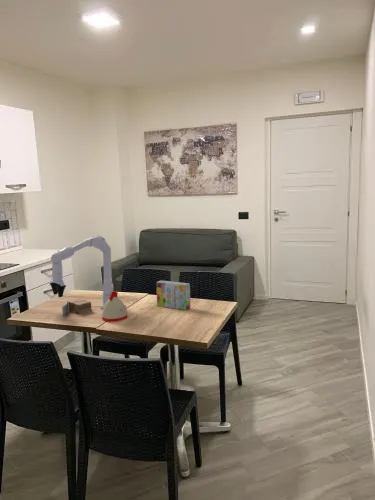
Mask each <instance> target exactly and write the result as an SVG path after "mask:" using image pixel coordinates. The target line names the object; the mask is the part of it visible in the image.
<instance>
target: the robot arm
mask: <svg viewBox="0 0 375 500" xmlns="http://www.w3.org/2000/svg"><path fill="white" fill-rule="evenodd" d="M86 247H93V248H95V249H97V250H100V251H101V252H102V256H103V257H102V259H103V286H102V288H101V289H102V295H101V296H102V306H100V309H102V307H104V305H105V303H106V302H107V300H108V299H109V297H110V295H111V293H112V292H113V291H114V288H115V287H114V282H113V277H112V275H113V274H112V249H111V246H110V245H109V244H108V242H107V240H106V239H105V238H104V237H103V236H101V235H99V234H97V235H95V236H94V237H93V236H92V237H88V238H86V239H84V240H82V241H81V242H79V243H77V244H75V245H73V246H69V245H68V246H67V245H66V246H64V248H62V249H60V250H57V251H56V252H54V253H53V254H52V255H51V257H50V261H51V262H52V263H51V271H52V272H51V278H50V282H49V286H50V287H51V290H52V293H53V295H57V296H58V298H62V297H63V296H64V291H65V289H66V287H67V285H66V284H65V282H64V279H63V278H64V277H63V275H64V274H63V262H62V261H63V260H65V259H68V258H70V257H72V256H74V255H75V253H76V252H77V251H79V250H81V249H84V248H86ZM110 298H111V297H110ZM117 298H119V296H117Z"/></svg>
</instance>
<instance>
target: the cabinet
mask: <svg viewBox="0 0 375 500" xmlns="http://www.w3.org/2000/svg"><path fill="white" fill-rule="evenodd" d="M67 302H68V306H69V310H68V311H70V310H72V311H71V312H73V311H74V312H73V313H75V314H79V315H81V314H85V313H87V312H91V311H92V302H91V301H89V300H86V299H82V298H77V299H73V300H69V301H67ZM84 312H85V313H84Z"/></svg>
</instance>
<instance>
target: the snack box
mask: <svg viewBox="0 0 375 500" xmlns="http://www.w3.org/2000/svg"><path fill="white" fill-rule="evenodd" d="M155 285H156V306H157V307H162V308H163V307H164V308H170V309H176V310H182V311H187V310H190V309H191V284H190V283H189V282H187V283H186V282H179V281H169V280H159V281H156V282H155Z"/></svg>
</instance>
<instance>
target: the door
mask: <svg viewBox="0 0 375 500" xmlns="http://www.w3.org/2000/svg"><path fill="white" fill-rule="evenodd" d="M61 310H62V316H63V317H66V315H67V313H68V311H70V310H69V303H68V301H65V303H64V304H63V306H62V307H61Z"/></svg>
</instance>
